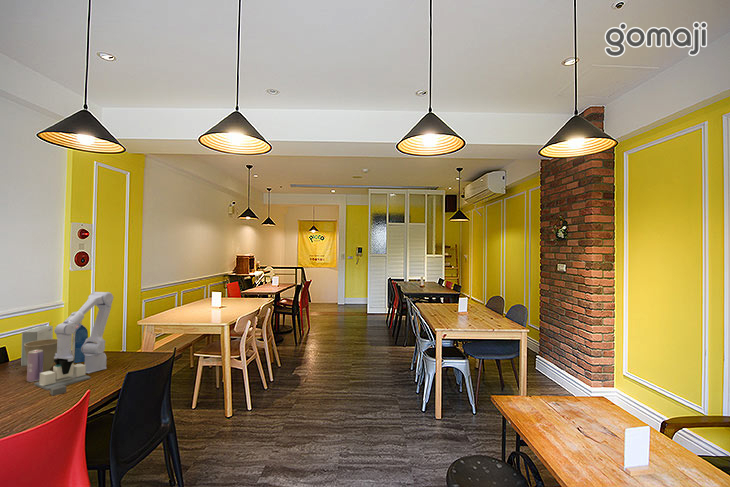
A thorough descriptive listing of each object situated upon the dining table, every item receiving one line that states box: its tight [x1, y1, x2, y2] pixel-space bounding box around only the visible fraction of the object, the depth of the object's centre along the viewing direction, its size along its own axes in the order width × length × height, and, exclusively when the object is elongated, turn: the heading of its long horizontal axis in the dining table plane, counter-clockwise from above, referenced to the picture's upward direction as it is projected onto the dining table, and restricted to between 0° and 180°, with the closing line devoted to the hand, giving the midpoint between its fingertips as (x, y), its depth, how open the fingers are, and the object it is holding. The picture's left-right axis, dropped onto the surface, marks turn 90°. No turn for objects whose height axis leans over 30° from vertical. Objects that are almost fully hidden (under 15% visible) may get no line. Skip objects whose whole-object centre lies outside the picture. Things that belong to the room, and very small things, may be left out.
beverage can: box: [26, 350, 43, 383], centre depth 182 cm, size 6×6×15 cm
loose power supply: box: [49, 385, 67, 397], centre depth 166 cm, size 5×4×3 cm
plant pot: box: [24, 338, 57, 372], centre depth 195 cm, size 15×15×16 cm
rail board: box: [33, 363, 92, 391], centre depth 180 cm, size 18×14×6 cm
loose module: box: [52, 362, 75, 379], centre depth 180 cm, size 7×4×6 cm, turn 153°
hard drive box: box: [20, 325, 54, 367], centre depth 211 cm, size 16×8×20 cm, turn 14°
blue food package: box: [71, 320, 89, 364], centre depth 216 cm, size 6×12×25 cm, turn 46°
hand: (63, 373), depth 180 cm, fingers closed on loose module, 4 cm apart
